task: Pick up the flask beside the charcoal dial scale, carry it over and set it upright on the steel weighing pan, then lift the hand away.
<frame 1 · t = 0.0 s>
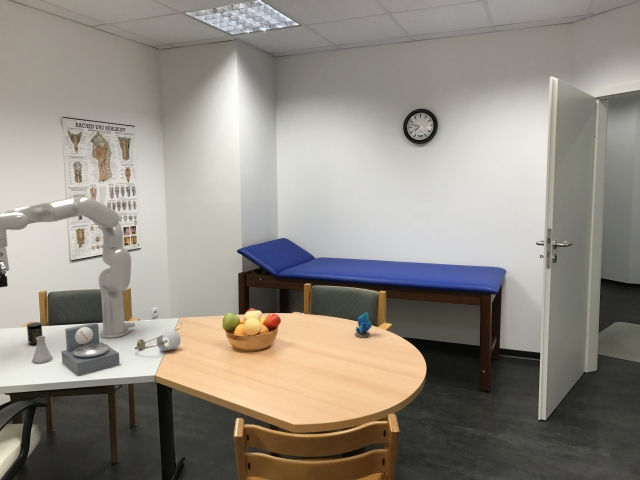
hand: (0, 284, 207), 31 cm above the table, tool pointing down, fingers open, 9 cm apart
light fixture: (173, 342, 232), on the table
scale: (92, 364, 204), on the table
flask: (42, 361, 209), on the table
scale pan: (91, 350, 204), point 6 cm above the table, slide at 0.2 cm
supplement container: (35, 344, 229), on the table
gemstone: (362, 335, 241), on the table
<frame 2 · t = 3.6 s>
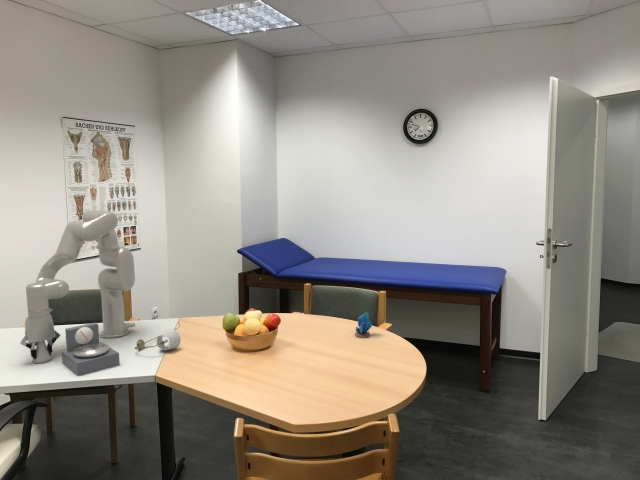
hand: (42, 355, 209), 2 cm above the table, tool pointing down, fingers closed on flask, 5 cm apart
flask: (42, 361, 209), on the table, touching gripper
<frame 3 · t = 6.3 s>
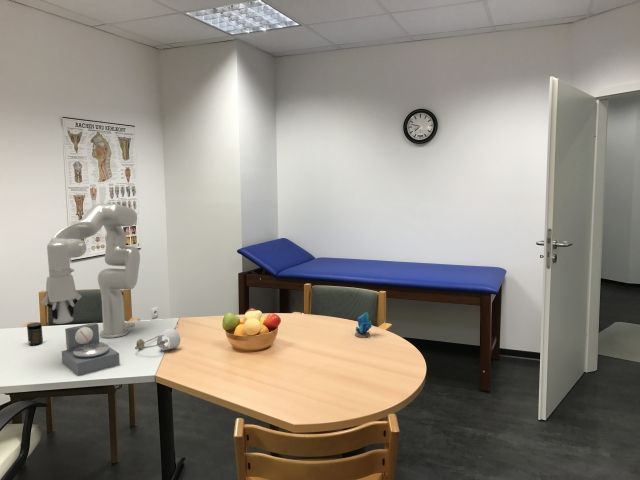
hand: (63, 316, 204), 19 cm above the table, tool pointing down, fingers closed on flask, 5 cm apart
flask: (63, 322, 205), point 17 cm above the table, touching gripper
when the fingers open (10 cm above the table, at t = 9.1 s): flask drops 2 cm, resting on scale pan.
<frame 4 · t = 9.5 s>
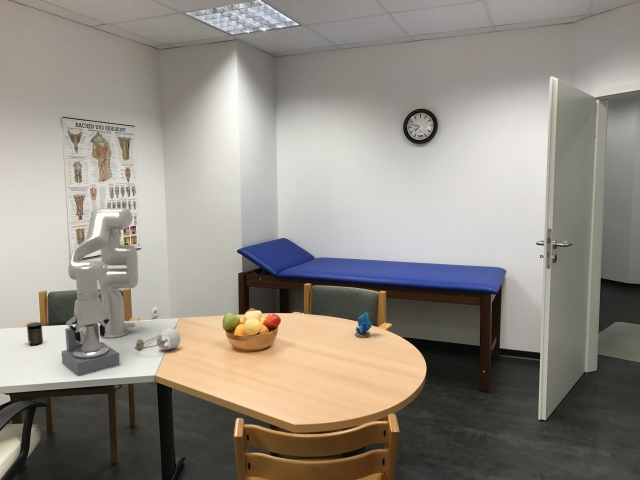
hand: (90, 338, 203), 11 cm above the table, tool pointing down, fingers open, 8 cm apart
flask: (91, 349, 204), point 6 cm above the table, touching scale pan
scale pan: (91, 350, 204), point 6 cm above the table, slide at 0.6 cm, touching flask
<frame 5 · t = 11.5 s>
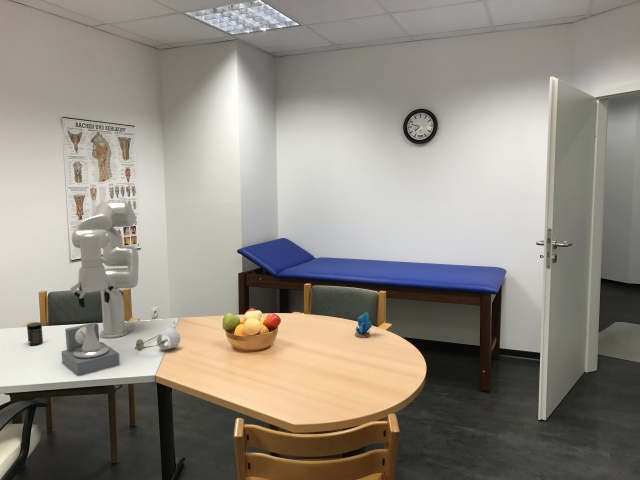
hand: (94, 304, 207), 23 cm above the table, tool pointing down, fingers open, 9 cm apart
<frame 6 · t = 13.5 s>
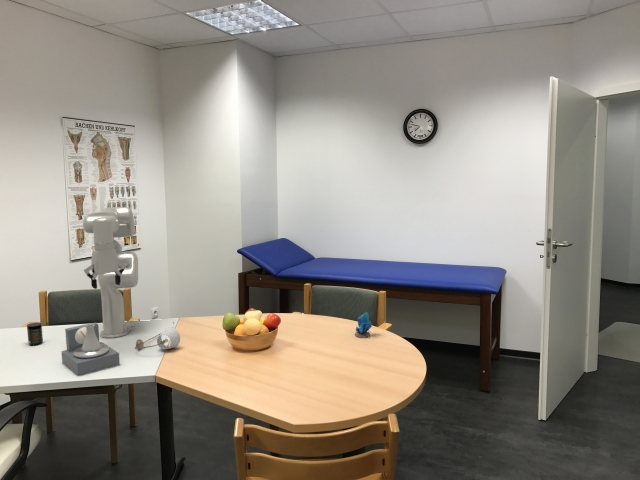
hand: (106, 286, 217), 28 cm above the table, tool pointing down, fingers open, 9 cm apart
at the end: flask 0.2 cm off-centre on the scale, point 6.2 cm above the scale's base; flask tilted 0°; the gripper is holding nothing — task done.
